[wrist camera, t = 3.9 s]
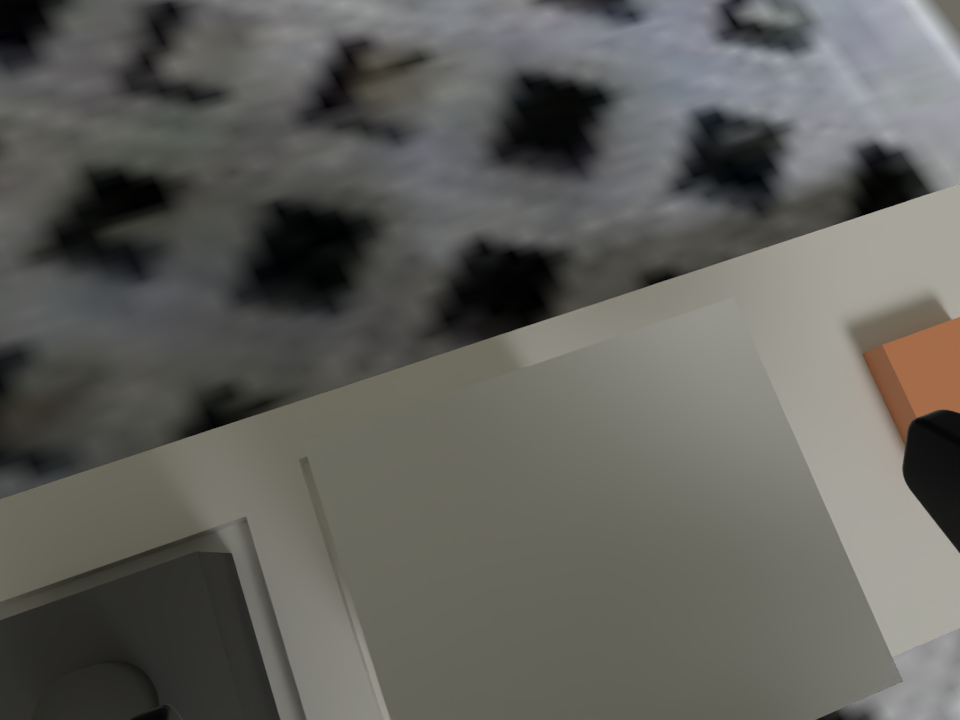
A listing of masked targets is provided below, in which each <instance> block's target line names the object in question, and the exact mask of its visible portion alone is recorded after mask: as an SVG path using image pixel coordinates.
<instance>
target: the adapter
mask: <svg viewBox="0 0 960 720" xmlns="http://www.w3.org/2000/svg"><path fill="white" fill-rule="evenodd" d="M303 445H304V449H305V452H306V455H307V458H308V461H309V464H310V468H311V471H312V474H313V477H314V480H315V483H316V486H317V490H318V493H319V496H320V499H321V502H322V505H323V509H324V512H325V515H326V518H327V521H328V524H329V527H330V531H331V534H332V537H333V540H334V543H335V546H336V550H337V553H338V556H339V559H340V562H341V565H342V568H343V572H344V575H345V578H346V581H347V584H348V587H349V591H350V594H351V597H352V600H353V603H354V606H355V609H356V613H357V616H358V619H359V622H360V625H361V628H362V632H363V635H364V638H365V641H366V644H367V647H368V650H369V654H370V657H371V660H372V663H373V666H374V669H375V673H376V676H377V679H378V682H379V685H380V688H381V691H382V695H383V698H384V701H385V704H386V707H387V710H388V714H389V717H390V720H816V719H818V718H820V717H823V716H825V715H827V714H829V713H832V712H834V711H836V710H839V709H841V708H843V707H845V706H848V705H850V704H852V703H854V702H857V701H859V700H861V699H864V698H866V697H868V696H870V695H873V694H875V693H877V692H880V691H882V690H884V689H886V688H889V687H891V686H893V685H896V684H898V683H900V682H902V679H901V676H900V674H899V672H898V669H897V667H896V665H895V663H894V660H893V658H892V656H891V654H890V651H889V649H888V647H887V644H886V642H885V640H884V638H883V635H882V633H881V631H880V629H879V626H878V624H877V622H876V620H875V617H874V615H873V613H872V610H871V608H870V606H869V604H868V601H867V599H866V597H865V595H864V592H863V590H862V588H861V585H860V583H859V581H858V579H857V576H856V574H855V572H854V570H853V567H852V565H851V563H850V560H849V558H848V556H847V554H846V551H845V549H844V547H843V545H842V542H841V540H840V538H839V536H838V533H837V531H836V529H835V526H834V524H833V522H832V520H831V517H830V515H829V513H828V511H827V508H826V506H825V504H824V501H823V499H822V497H821V495H820V492H819V490H818V488H817V486H816V483H815V481H814V479H813V476H812V474H811V472H810V470H809V467H808V465H807V463H806V461H805V458H804V456H803V454H802V451H801V449H800V447H799V445H798V442H797V440H796V438H795V436H794V433H793V431H792V429H791V427H790V424H789V422H788V420H787V417H786V415H785V413H784V411H783V408H782V406H781V404H780V402H779V399H778V397H777V395H776V392H775V390H774V388H773V386H772V383H771V381H770V379H769V377H768V374H767V372H766V370H765V367H764V365H763V363H762V361H761V358H760V356H759V354H758V352H757V349H756V347H755V345H754V343H753V340H752V338H751V336H750V333H749V331H748V329H747V327H746V324H745V322H744V320H743V318H742V315H741V313H740V311H739V308H738V306H737V304H736V302H735V299H734V297H732V298H729V299H727V300H724V301H721V302H718V303H715V304H712V305H709V306H706V307H703V308H700V309H697V310H694V311H691V312H688V313H685V314H682V315H679V316H676V317H673V318H670V319H667V320H664V321H661V322H658V323H655V324H652V325H649V326H646V327H643V328H640V329H637V330H634V331H632V332H629V333H626V334H623V335H620V336H617V337H614V338H611V339H608V340H605V341H602V342H599V343H596V344H593V345H590V346H587V347H584V348H581V349H578V350H575V351H572V352H569V353H566V354H563V355H560V356H557V357H554V358H551V359H548V360H545V361H542V362H539V363H537V364H534V365H531V366H528V367H525V368H522V369H519V370H516V371H513V372H510V373H507V374H504V375H501V376H498V377H495V378H492V379H489V380H486V381H483V382H480V383H477V384H474V385H471V386H468V387H465V388H462V389H459V390H456V391H453V392H450V393H447V394H445V395H442V396H439V397H436V398H433V399H430V400H427V401H424V402H421V403H418V404H415V405H412V406H409V407H406V408H403V409H400V410H397V411H394V412H391V413H388V414H385V415H382V416H379V417H376V418H373V419H370V420H367V421H364V422H361V423H358V424H355V425H352V426H350V427H347V428H344V429H341V430H338V431H335V432H332V433H329V434H326V435H323V436H320V437H317V438H314V439H311V440H308V441H305V442H303Z"/></svg>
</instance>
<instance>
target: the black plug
mask: <svg viewBox="0 0 960 720" xmlns="http://www.w3.org/2000/svg"><path fill="white" fill-rule="evenodd" d="M165 704H169V705H171V706H173V707H174V708H175V709H176V711H177V712H178V714H179V715H180V717H181V718H182V720H280V717H279V713H278V710H277V706H276V703H275V700H274V696H273V693H272V689H271V686H270V682H269V679H268V676H267V672H266V669H265V665H264V662H263V658H262V655H261V652H260V648H259V645H258V641H257V638H256V634H255V631H254V628H253V624H252V621H251V617H250V614H249V610H248V607H247V604H246V600H245V597H244V593H243V590H242V586H241V583H240V579H239V576H238V573H237V569H236V566H235V562H234V559H233V555H232V553H220V552H202V551H196V552H193V553H190V554H187V555H185V556H182V557H179V558H176V559H173V560H170V561H167V562H165V563H162V564H159V565H156V566H153V567H150V568H148V569H145V570H142V571H139V572H136V573H133V574H130V575H128V576H125V577H122V578H119V579H116V580H113V581H111V582H108V583H105V584H102V585H99V586H96V587H93V588H91V589H88V590H85V591H82V592H79V593H76V594H74V595H71V596H68V597H65V598H62V599H59V600H56V601H54V602H51V603H48V604H45V605H42V606H39V607H37V608H34V609H31V610H28V611H25V612H22V613H19V614H17V615H14V616H11V617H8V618H5V619H2V620H0V720H130V719H131V718H132V717H133V716H135V715H137V714H140V713H142V712H145V711H148V710H150V709H153V708H156V707H158V706H161V705H165Z"/></svg>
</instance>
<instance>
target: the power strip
mask: <svg viewBox="0 0 960 720" xmlns="http://www.w3.org/2000/svg"><path fill="white" fill-rule="evenodd" d="M732 297H734V299H735V302H736V304H737V306H738V308H739V311H740V313H741V315H742V318H743V320H744V322H745V324H746V327H747V329H748V331H749V333H750V336H751V338H752V340H753V343H754V345H755V347H756V349H757V352H758V354H759V356H760V358H761V361H762V363H763V365H764V367H765V370H766V372H767V374H768V377H769V379H770V381H771V383H772V386H773V388H774V390H775V392H776V395H777V397H778V399H779V402H780V404H781V406H782V408H783V411H784V413H785V415H786V417H787V420H788V422H789V424H790V427H791V429H792V431H793V433H794V436H795V438H796V440H797V442H798V445H799V447H800V449H801V451H802V454H803V456H804V458H805V461H806V463H807V465H808V467H809V470H810V472H811V474H812V476H813V479H814V481H815V483H816V486H817V488H818V490H819V492H820V495H821V497H822V499H823V501H824V504H825V506H826V508H827V511H828V513H829V515H830V517H831V520H832V522H833V524H834V526H835V529H836V531H837V533H838V536H839V538H840V540H841V542H842V545H843V547H844V549H845V551H846V554H847V556H848V558H849V560H850V563H851V565H852V567H853V570H854V572H855V574H856V576H857V579H858V581H859V583H860V585H861V588H862V590H863V592H864V595H865V597H866V599H867V601H868V604H869V606H870V608H871V610H872V613H873V615H874V617H875V620H876V622H877V624H878V626H879V629H880V631H881V633H882V635H883V638H884V640H885V642H886V644H887V647H888V649H889V651H890V654H891V656H892V657H894V656H896V655H898V654H901V653H903V652H905V651H908V650H910V649H912V648H915V647H917V646H919V645H922V644H924V643H926V642H929V641H931V640H933V639H936V638H938V637H940V636H942V635H945V634H947V633H949V632H952V631H954V630H956V629H959V628H960V553H959V552H958V551H957V549H956V548H955V547H954V546H953V544H952V543H951V542H950V540H949V539H948V538H947V537H946V535H945V534H944V533H943V532H942V530H941V529H940V528H939V526H938V525H937V524H936V523H935V521H934V520H933V519H932V517H931V516H930V515H929V514H928V512H927V511H926V510H925V509H924V507H923V506H922V505H921V503H920V502H919V501H918V500H917V498H916V497H915V496H914V494H913V493H912V492H911V491H910V489H909V488H908V486H907V484H906V482H905V480H904V477H903V472H902V465H903V458H904V451H905V444H906V437H907V430H908V426H909V424H910V423H911V422H912V420H914V419H915V418H918V417H920V416H923V415H926V414H928V413H931V412H933V411H937V410H943V409H944V410H950V411H954V412H958V413H960V184H958V185H955V186H952V187H949V188H946V189H943V190H940V191H937V192H934V193H931V194H928V195H925V196H922V197H919V198H916V199H913V200H909V201H906V202H903V203H900V204H897V205H894V206H891V207H888V208H885V209H882V210H879V211H876V212H873V213H870V214H867V215H864V216H861V217H858V218H855V219H852V220H849V221H846V222H842V223H839V224H836V225H833V226H830V227H827V228H824V229H821V230H818V231H815V232H812V233H809V234H806V235H803V236H800V237H797V238H794V239H791V240H788V241H785V242H782V243H778V244H775V245H772V246H769V247H766V248H763V249H760V250H757V251H754V252H751V253H748V254H745V255H742V256H739V257H736V258H733V259H730V260H727V261H724V262H721V263H718V264H715V265H711V266H708V267H705V268H702V269H699V270H696V271H693V272H690V273H687V274H684V275H681V276H678V277H675V278H672V279H669V280H666V281H663V282H660V283H657V284H654V285H651V286H647V287H644V288H641V289H638V290H635V291H632V292H629V293H626V294H623V295H620V296H617V297H614V298H611V299H608V300H605V301H602V302H599V303H596V304H593V305H590V306H587V307H584V308H580V309H577V310H574V311H571V312H568V313H565V314H562V315H559V316H556V317H553V318H550V319H547V320H544V321H541V322H538V323H535V324H532V325H529V326H526V327H523V328H520V329H516V330H513V331H510V332H507V333H504V334H501V335H498V336H495V337H492V338H489V339H486V340H483V341H480V342H477V343H474V344H471V345H468V346H465V347H462V348H459V349H456V350H453V351H449V352H446V353H443V354H440V355H437V356H434V357H431V358H428V359H425V360H422V361H419V362H416V363H413V364H410V365H407V366H404V367H401V368H398V369H395V370H392V371H389V372H385V373H382V374H379V375H376V376H373V377H370V378H367V379H364V380H361V381H358V382H355V383H352V384H349V385H346V386H343V387H340V388H337V389H334V390H331V391H328V392H325V393H322V394H318V395H315V396H312V397H309V398H306V399H303V400H300V401H297V402H294V403H291V404H288V405H285V406H282V407H279V408H276V409H273V410H270V411H267V412H264V413H261V414H258V415H254V416H251V417H248V418H245V419H242V420H239V421H236V422H233V423H230V424H227V425H224V426H221V427H218V428H215V429H212V430H209V431H206V432H203V433H200V434H197V435H194V436H191V437H187V438H184V439H181V440H178V441H175V442H172V443H169V444H166V445H163V446H160V447H157V448H154V449H151V450H148V451H145V452H142V453H139V454H136V455H133V456H130V457H127V458H123V459H120V460H117V461H114V462H111V463H108V464H105V465H102V466H99V467H96V468H93V469H90V470H87V471H84V472H81V473H78V474H75V475H72V476H69V477H66V478H63V479H60V480H56V481H53V482H50V483H47V484H44V485H41V486H38V487H35V488H32V489H29V490H26V491H23V492H20V493H17V494H14V495H11V496H8V497H5V498H2V499H0V620H2V619H5V618H8V617H11V616H14V615H17V614H19V613H22V612H25V611H28V610H31V609H34V608H37V607H39V606H42V605H45V604H48V603H51V602H54V601H56V600H59V599H62V598H65V597H68V596H71V595H74V594H76V593H79V592H82V591H85V590H88V589H91V588H93V587H96V586H99V585H102V584H105V583H108V582H111V581H113V580H116V579H119V578H122V577H125V576H128V575H130V574H133V573H136V572H139V571H142V570H145V569H148V568H150V567H153V566H156V565H159V564H162V563H165V562H167V561H170V560H173V559H176V558H179V557H182V556H185V555H187V554H190V553H193V552H196V551H202V552H220V553H232V555H233V559H234V562H235V566H236V569H237V573H238V576H239V579H240V583H241V586H242V590H243V593H244V597H245V600H246V604H247V607H248V610H249V614H250V617H251V621H252V624H253V628H254V631H255V634H256V638H257V641H258V645H259V648H260V652H261V655H262V658H263V662H264V665H265V669H266V672H267V676H268V679H269V682H270V686H271V689H272V693H273V696H274V700H275V703H276V706H277V710H278V713H279V717H280V720H390V717H389V714H388V710H387V707H386V704H385V701H384V698H383V695H382V691H381V688H380V685H379V682H378V679H377V676H376V673H375V669H374V666H373V663H372V660H371V657H370V654H369V650H368V647H367V644H366V641H365V638H364V635H363V632H362V628H361V625H360V622H359V619H358V616H357V613H356V609H355V606H354V603H353V600H352V597H351V594H350V591H349V587H348V584H347V581H346V578H345V575H344V572H343V568H342V565H341V562H340V559H339V556H338V553H337V550H336V546H335V543H334V540H333V537H332V534H331V531H330V527H329V524H328V521H327V518H326V515H325V512H324V509H323V505H322V502H321V499H320V496H319V493H318V490H317V486H316V483H315V480H314V477H313V474H312V471H311V468H310V464H309V461H308V458H307V455H306V452H305V449H304V445H303V442H305V441H308V440H311V439H314V438H317V437H320V436H323V435H326V434H329V433H332V432H335V431H338V430H341V429H344V428H347V427H350V426H352V425H355V424H358V423H361V422H364V421H367V420H370V419H373V418H376V417H379V416H382V415H385V414H388V413H391V412H394V411H397V410H400V409H403V408H406V407H409V406H412V405H415V404H418V403H421V402H424V401H427V400H430V399H433V398H436V397H439V396H442V395H445V394H447V393H450V392H453V391H456V390H459V389H462V388H465V387H468V386H471V385H474V384H477V383H480V382H483V381H486V380H489V379H492V378H495V377H498V376H501V375H504V374H507V373H510V372H513V371H516V370H519V369H522V368H525V367H528V366H531V365H534V364H537V363H539V362H542V361H545V360H548V359H551V358H554V357H557V356H560V355H563V354H566V353H569V352H572V351H575V350H578V349H581V348H584V347H587V346H590V345H593V344H596V343H599V342H602V341H605V340H608V339H611V338H614V337H617V336H620V335H623V334H626V333H629V332H632V331H634V330H637V329H640V328H643V327H646V326H649V325H652V324H655V323H658V322H661V321H664V320H667V319H670V318H673V317H676V316H679V315H682V314H685V313H688V312H691V311H694V310H697V309H700V308H703V307H706V306H709V305H712V304H715V303H718V302H721V301H724V300H727V299H729V298H732Z"/></svg>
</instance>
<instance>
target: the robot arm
mask: <svg viewBox="0 0 960 720" xmlns="http://www.w3.org/2000/svg"><path fill="white" fill-rule="evenodd" d="M902 472H903V477H904V480H905V482H906V484H907V486H908V488H909V489H910V491H911V492H912V493H913V494H914V496H915V497H916V498H917V500H918V501H919V502H920V503H921V505H922V506H923V507H924V509H925V510H926V511H927V512H928V514H929V515H930V516H931V517H932V519H933V520H934V521H935V523H936V524H937V525H938V526H939V528H940V529H941V530H942V532H943V533H944V534H945V535H946V537H947V538H948V539H949V540H950V542H951V543H952V544H953V546H954V547H955V548H956V549H957V551H958V552H959V553H960V413H958V412H954V411H950V410H944V409H943V410H937V411H933V412H931V413H928V414H926V415H923V416H920V417H918V418H915V419H914V420H912V422H911V423H910V424H909V426H908V430H907V437H906V444H905V451H904V458H903V465H902ZM130 720H182V718H181V717H180V715H179V714H178V712H177V711H176V709H175V708H174V707H173V706H171V705H169V704H165V705H161V706H158V707H156V708H153V709H150V710H148V711H145V712H142V713H140V714H137V715H135V716H133V717H132V718H131V719H130Z"/></svg>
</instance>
